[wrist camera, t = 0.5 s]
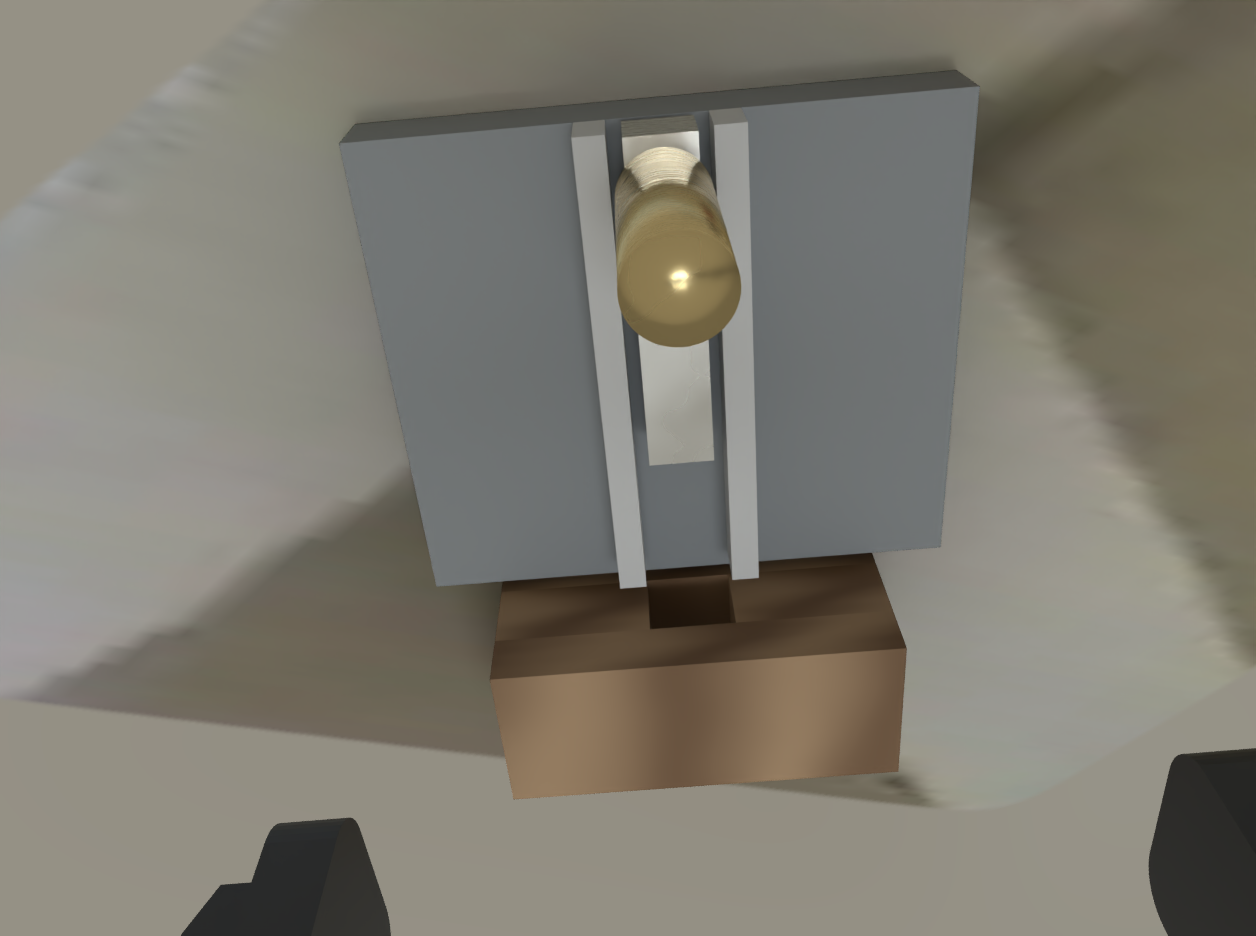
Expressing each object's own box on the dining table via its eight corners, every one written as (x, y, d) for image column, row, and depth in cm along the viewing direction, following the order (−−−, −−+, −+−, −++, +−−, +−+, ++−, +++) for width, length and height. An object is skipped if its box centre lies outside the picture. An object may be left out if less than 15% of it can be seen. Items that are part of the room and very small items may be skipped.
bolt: (705, 113, 26) (739, 208, 20) (719, 431, 31) (750, 593, 24) (608, 122, 26) (610, 220, 20) (637, 438, 31) (646, 601, 24)
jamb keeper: (863, 529, 36) (906, 648, 30) (858, 644, 38) (898, 771, 33) (506, 557, 36) (489, 679, 31) (525, 669, 39) (513, 799, 33)
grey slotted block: (956, 70, 28) (998, 99, 25) (924, 512, 35) (953, 575, 32) (355, 124, 28) (325, 159, 25) (445, 549, 36) (430, 616, 33)
